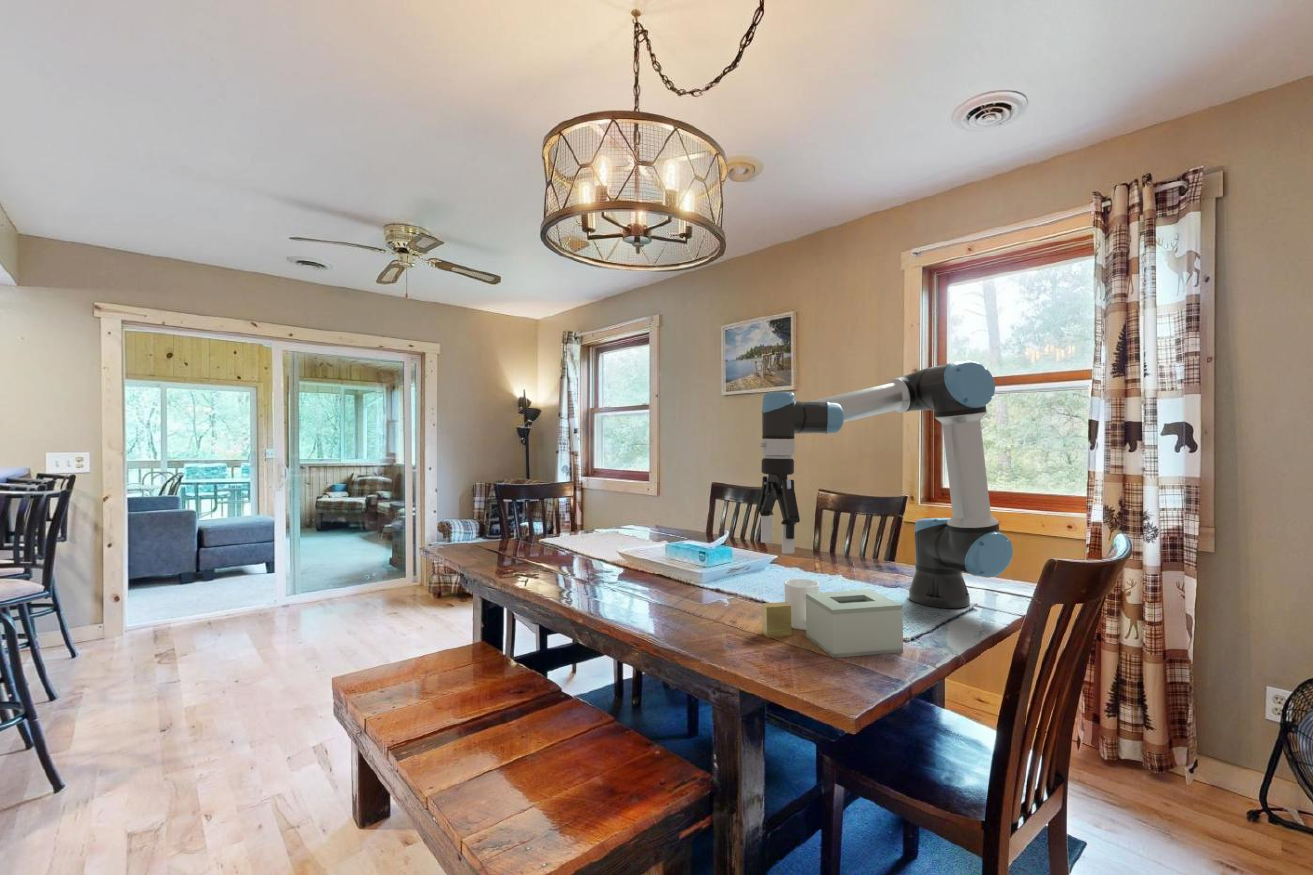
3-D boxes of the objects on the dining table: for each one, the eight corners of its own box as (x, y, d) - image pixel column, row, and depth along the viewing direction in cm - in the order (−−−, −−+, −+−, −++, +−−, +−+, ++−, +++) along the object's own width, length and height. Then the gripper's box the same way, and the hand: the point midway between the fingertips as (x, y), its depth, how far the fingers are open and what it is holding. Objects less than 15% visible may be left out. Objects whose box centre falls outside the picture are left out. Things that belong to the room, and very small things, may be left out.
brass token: (786, 631, 134) (785, 601, 135) (791, 635, 132) (791, 605, 132) (762, 633, 133) (761, 603, 134) (766, 637, 131) (766, 607, 131)
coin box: (870, 631, 133) (869, 589, 133) (903, 652, 120) (902, 605, 121) (806, 636, 131) (805, 593, 131) (833, 658, 118) (832, 610, 118)
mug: (829, 635, 131) (828, 591, 131) (793, 636, 131) (792, 591, 131) (814, 619, 143) (813, 578, 143) (781, 619, 143) (781, 578, 143)
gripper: (745, 456, 145) (744, 538, 145) (783, 459, 121) (781, 558, 121) (773, 456, 147) (772, 538, 146) (816, 459, 122) (814, 557, 122)
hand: (776, 547), depth 133 cm, fingers open, 13 cm apart
